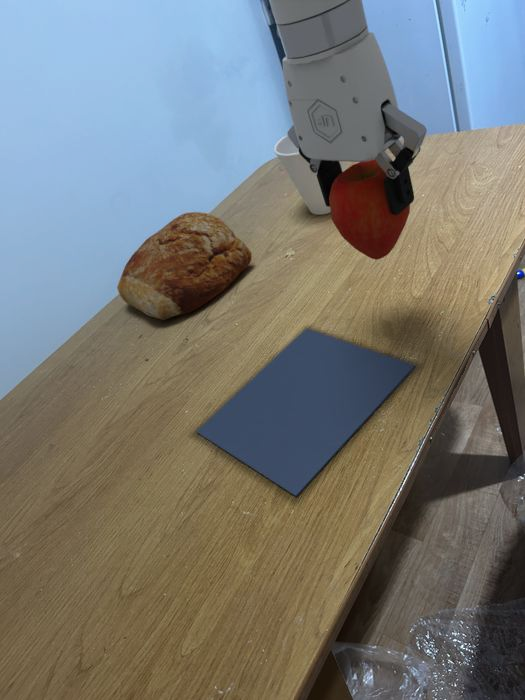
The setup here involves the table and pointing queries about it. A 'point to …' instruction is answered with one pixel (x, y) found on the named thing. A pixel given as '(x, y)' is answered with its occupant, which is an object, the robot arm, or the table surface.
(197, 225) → the bread
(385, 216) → the apple
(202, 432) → the napkin
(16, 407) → the table surface
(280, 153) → the cup
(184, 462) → the table surface
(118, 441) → the table surface
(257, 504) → the table surface
